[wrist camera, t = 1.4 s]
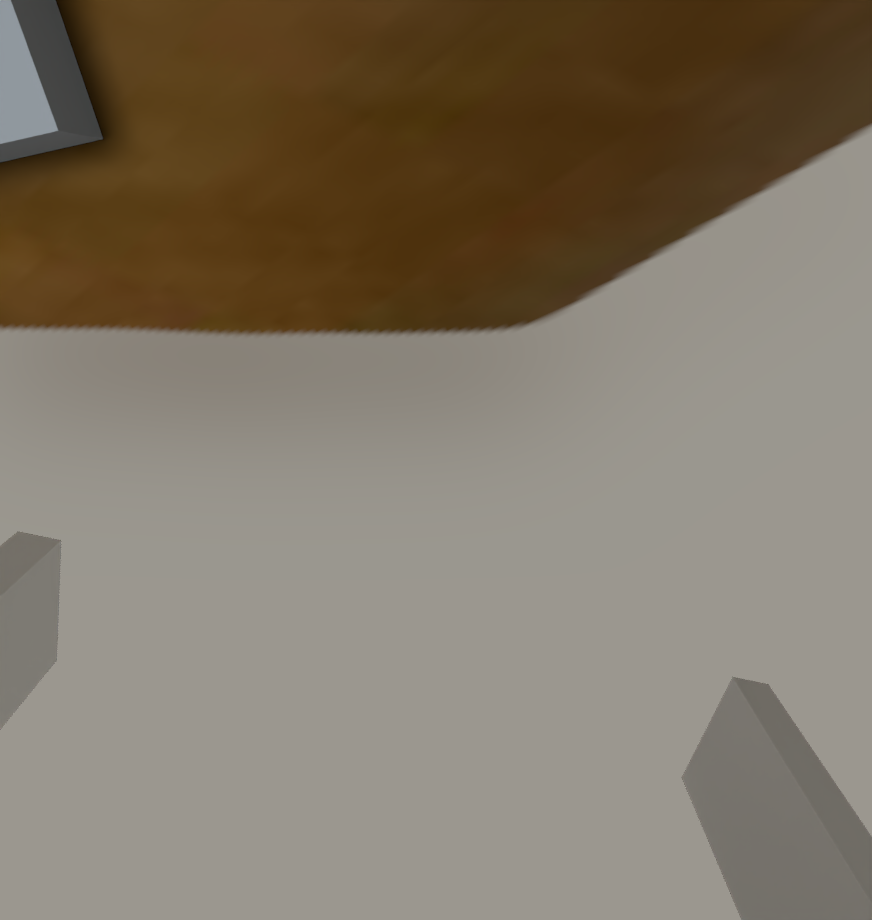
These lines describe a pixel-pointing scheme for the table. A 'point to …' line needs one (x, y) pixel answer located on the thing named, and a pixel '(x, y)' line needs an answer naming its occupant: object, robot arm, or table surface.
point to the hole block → (40, 83)
